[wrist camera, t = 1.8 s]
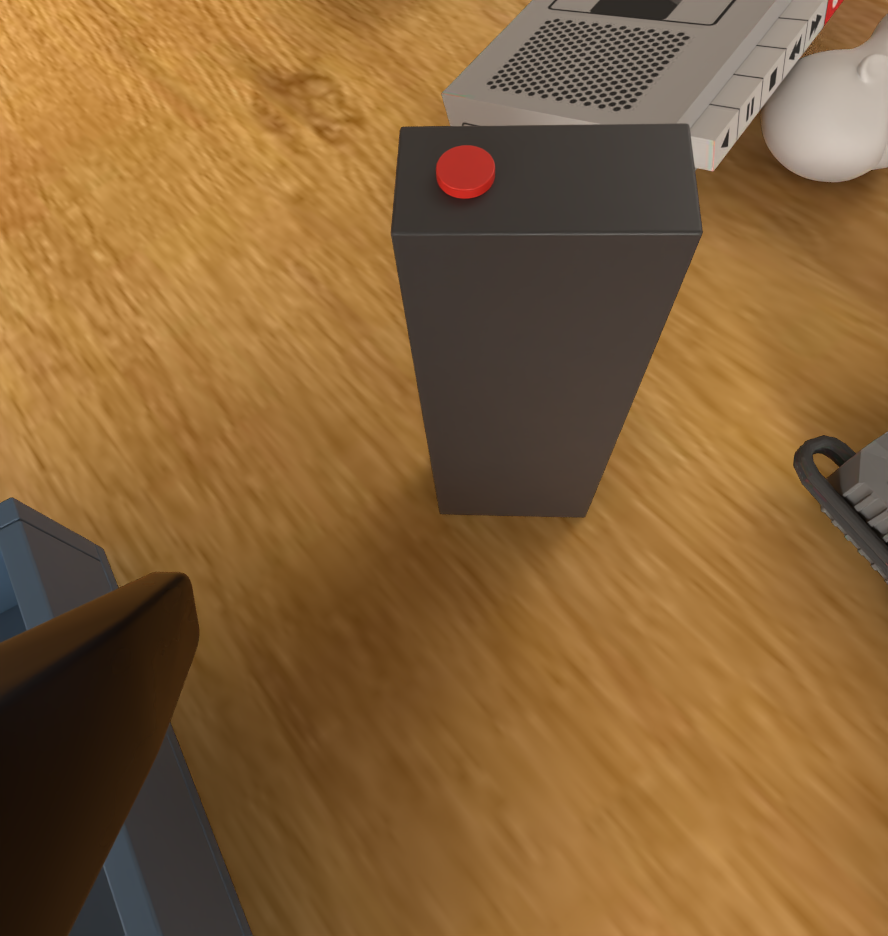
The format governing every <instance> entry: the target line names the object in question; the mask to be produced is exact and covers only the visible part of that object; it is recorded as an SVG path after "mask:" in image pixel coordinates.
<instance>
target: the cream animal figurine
mask: <svg viewBox="0 0 888 936" xmlns="http://www.w3.org/2000/svg"><path fill="white" fill-rule="evenodd" d="M760 123H761V129H762V133H763V137H764V140H765V142H766V144H767V146H768V148H769V150H770V151H771V153H772V154H773V155H774V157H775V158H776V159H777V160H778V161H779V162H780V163H781V164H782V165H783V166H784V167H786V168H787V169H788V170H790V171H791V172H793V173H795V174H797V175H799V176H801V177H804V178H807V179H810V180H815V181H823V182H842V181H848V180H851V179H854V178H856V177H859V176H861V175H863V174H865V173H867V172H868V171H870V170H876V169H882V168H888V14H887V15H886V16H885V17H884V18H883V19H882V20H881V21H880V22H879V24H878V25H877V27H876V28H875V30H874V32H873V34H872V35H871V37H870V39H869V40H868V41H866V42H865V43H863V44H862V45H860V46H858V47H856V48H854V49H841V50H831V51H824V52H819V53H815V54H811V55H808V56H805V57H803V58H800V59H799V60H798V61H797V62H796V64H795V65H794V66H793V67H792V69H791V70H790V71H789V73H788V74H787V75H786V77H785V78H784V79H783V81H782V82H781V83H780V85H779V86H778V87H777V88H776V90H775V91H774V92H773V94H772V95H771V96H770V98H769V99H768V100H767V102H766V103H765V104H764V106H763V107H762V108H761V113H760Z"/></svg>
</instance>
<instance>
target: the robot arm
mask: <svg viewBox="0 0 888 936" xmlns="http://www.w3.org/2000/svg"><path fill="white" fill-rule="evenodd" d="M198 641H199V624H198V618H197V613H196V607H195V601H194V595H193V589H192V584H191V581H190V579H189V577H188V576H187V575H186V574H184V573H180V572H153V573H150V574H148V575H146V576H144V577H142V578H139V579H137V580H135V581H133V582H131V583H129V584H126V585H124V586H122V587H120V588H118V589H116V590H114V591H111V592H109V593H107V594H105V595H103V596H101V597H98V598H96V599H94V600H92V601H90V602H88V603H85V604H83V605H81V606H79V607H77V608H75V609H72V610H70V611H68V612H66V613H64V614H62V615H60V616H57V617H55V618H53V619H51V620H49V621H47V622H44V623H42V624H40V625H38V626H36V627H34V628H31V629H29V630H27V631H25V632H23V633H21V634H18V635H16V636H14V637H12V638H10V639H8V640H6V641H3V642H1V643H0V936H68V935H69V933H70V931H71V929H72V927H73V925H74V923H75V921H76V919H77V917H78V915H79V913H80V911H81V909H82V907H83V905H84V903H85V901H86V899H87V897H88V895H89V893H90V891H91V889H92V887H93V885H94V882H95V880H96V878H97V876H98V874H99V872H100V870H101V868H102V866H103V864H104V862H105V860H106V858H107V856H108V854H109V852H110V850H111V848H112V846H113V844H114V842H115V840H116V838H117V836H118V834H119V832H120V830H121V828H122V826H123V824H124V822H125V820H126V818H127V816H128V814H129V812H130V810H131V808H132V806H133V804H134V802H135V800H136V798H137V796H138V794H139V792H140V790H141V788H142V786H143V784H144V782H145V780H146V778H147V776H148V774H149V772H150V769H151V767H152V765H153V763H154V761H155V759H156V756H157V754H158V752H159V749H160V747H161V744H162V742H163V739H164V737H165V734H166V731H167V729H168V726H169V723H170V721H171V718H172V715H173V712H174V710H175V707H176V704H177V701H178V699H179V696H180V693H181V690H182V688H183V685H184V682H185V679H186V677H187V674H188V671H189V668H190V666H191V663H192V660H193V657H194V655H195V652H196V649H197V646H198Z"/></svg>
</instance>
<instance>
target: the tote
mask: <svg viewBox="0 0 888 936" xmlns="http://www.w3.org/2000/svg"><path fill="white" fill-rule="evenodd" d="M116 589H118V586H117V583H116V580H115V578H114V575H113V573H112V570H111V568H110V565H109V562H108V560H107V557H106V555H105V552H104V549H103V548H101V547H99V546H98V545H96V544H94V543H93V542H91V541H89V540H87V539H86V538H84V537H82V536H80V535H79V534H77V533H75V532H73V531H71V530H70V529H68V528H66V527H64V526H63V525H61V524H59V523H57V522H55V521H54V520H52V519H50V518H48V517H46V516H45V515H43V514H41V513H39V512H38V511H36V510H34V509H32V508H30V507H29V506H27V505H25V504H23V503H22V502H20V501H18V500H16V499H14V498H9V499H7V500H5V501H3V502H1V503H0V643H1V642H3V641H6V640H8V639H10V638H12V637H14V636H16V635H18V634H21V633H23V632H25V631H27V630H29V629H31V628H34V627H36V626H38V625H40V624H42V623H44V622H47V621H49V620H51V619H53V618H55V617H57V616H60V615H62V614H64V613H66V612H68V611H70V610H72V609H75V608H77V607H79V606H81V605H83V604H85V603H88V602H90V601H92V600H94V599H96V598H98V597H101V596H103V595H105V594H107V593H109V592H111V591H114V590H116ZM68 936H253V935H252V933H251V930H250V927H249V925H248V922H247V920H246V917H245V914H244V912H243V909H242V907H241V904H240V902H239V899H238V896H237V894H236V891H235V889H234V886H233V883H232V881H231V878H230V876H229V873H228V870H227V868H226V865H225V863H224V860H223V858H222V855H221V852H220V850H219V847H218V845H217V842H216V839H215V837H214V834H213V832H212V829H211V826H210V824H209V821H208V819H207V816H206V814H205V811H204V808H203V806H202V803H201V801H200V798H199V795H198V793H197V790H196V788H195V785H194V782H193V780H192V777H191V775H190V772H189V769H188V767H187V764H186V762H185V759H184V757H183V754H182V751H181V749H180V746H179V744H178V741H177V738H176V736H175V733H174V731H173V728H172V725H171V723H169V726H168V729H167V731H166V734H165V737H164V739H163V742H162V744H161V747H160V749H159V752H158V754H157V756H156V759H155V761H154V763H153V765H152V767H151V769H150V772H149V774H148V776H147V778H146V780H145V782H144V784H143V786H142V788H141V790H140V792H139V794H138V796H137V798H136V800H135V802H134V804H133V806H132V808H131V810H130V812H129V814H128V816H127V818H126V820H125V822H124V824H123V826H122V828H121V830H120V832H119V834H118V836H117V838H116V840H115V842H114V844H113V846H112V848H111V850H110V852H109V854H108V856H107V858H106V860H105V862H104V864H103V866H102V868H101V870H100V872H99V874H98V876H97V878H96V880H95V882H94V885H93V887H92V889H91V891H90V893H89V895H88V897H87V899H86V901H85V903H84V905H83V907H82V909H81V911H80V913H79V915H78V917H77V919H76V921H75V923H74V925H73V927H72V929H71V931H70V933H69V935H68Z"/></svg>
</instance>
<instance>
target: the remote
mask: <svg viewBox="0 0 888 936" xmlns="http://www.w3.org/2000/svg"><path fill="white" fill-rule="evenodd" d="M702 233H703V231H702V223H701V215H700V206H699V198H698V190H697V182H696V174H695V166H694V158H693V150H692V141H691V133H690V126H689V124H687V123H677V124H593V125H508V126H424V127H401V129H400V134H399V145H398V157H397V168H396V179H395V191H394V202H393V214H392V225H391V238H392V243H393V249H394V255H395V260H396V266H397V272H398V278H399V283H400V289H401V295H402V300H403V306H404V312H405V318H406V323H407V329H408V335H409V340H410V346H411V352H412V358H413V363H414V369H415V375H416V381H417V386H418V392H419V398H420V403H421V409H422V415H423V421H424V426H425V432H426V438H427V443H428V449H429V455H430V461H431V466H432V472H433V478H434V483H435V489H436V495H437V501H438V506H439V512H440V514H454V515H497V516H541V517H585V516H586V514H587V511H588V509H589V506H590V504H591V502H592V499H593V497H594V494H595V492H596V490H597V487H598V485H599V482H600V480H601V477H602V475H603V473H604V470H605V468H606V465H607V463H608V460H609V458H610V456H611V453H612V451H613V448H614V446H615V444H616V441H617V439H618V436H619V434H620V431H621V429H622V427H623V424H624V422H625V419H626V417H627V415H628V412H629V410H630V407H631V405H632V402H633V400H634V398H635V395H636V393H637V390H638V388H639V386H640V383H641V381H642V378H643V376H644V373H645V371H646V369H647V366H648V364H649V361H650V359H651V356H652V354H653V352H654V349H655V347H656V344H657V342H658V340H659V337H660V335H661V332H662V330H663V327H664V325H665V323H666V320H667V318H668V315H669V313H670V311H671V308H672V306H673V303H674V301H675V298H676V296H677V294H678V291H679V289H680V286H681V284H682V282H683V279H684V277H685V274H686V272H687V269H688V267H689V265H690V262H691V260H692V257H693V255H694V252H695V250H696V248H697V245H698V243H699V240H700V238H701V236H702Z"/></svg>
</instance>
